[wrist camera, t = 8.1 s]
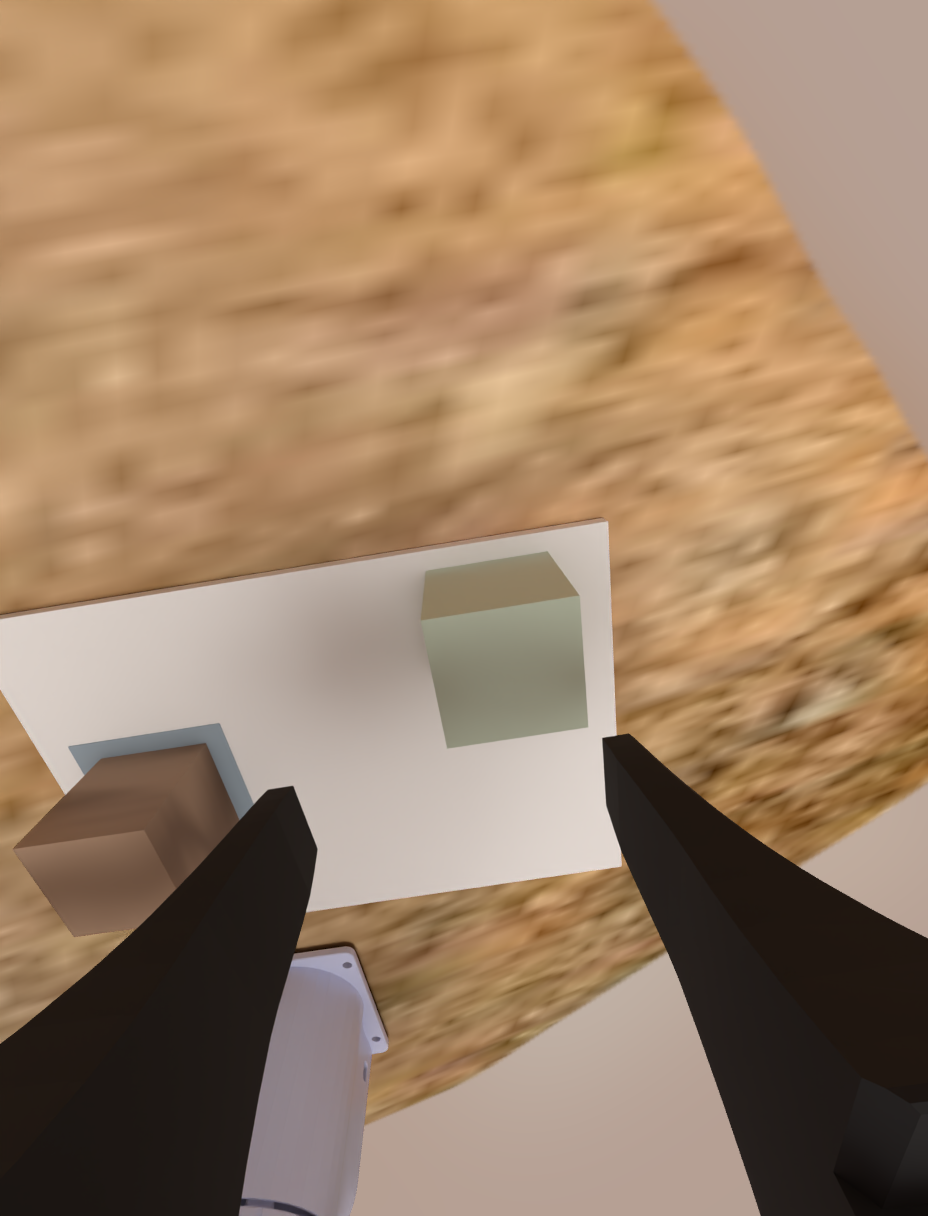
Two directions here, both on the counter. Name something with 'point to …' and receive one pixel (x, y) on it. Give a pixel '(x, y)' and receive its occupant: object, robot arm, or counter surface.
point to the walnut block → (128, 837)
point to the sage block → (504, 649)
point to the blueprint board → (333, 713)
